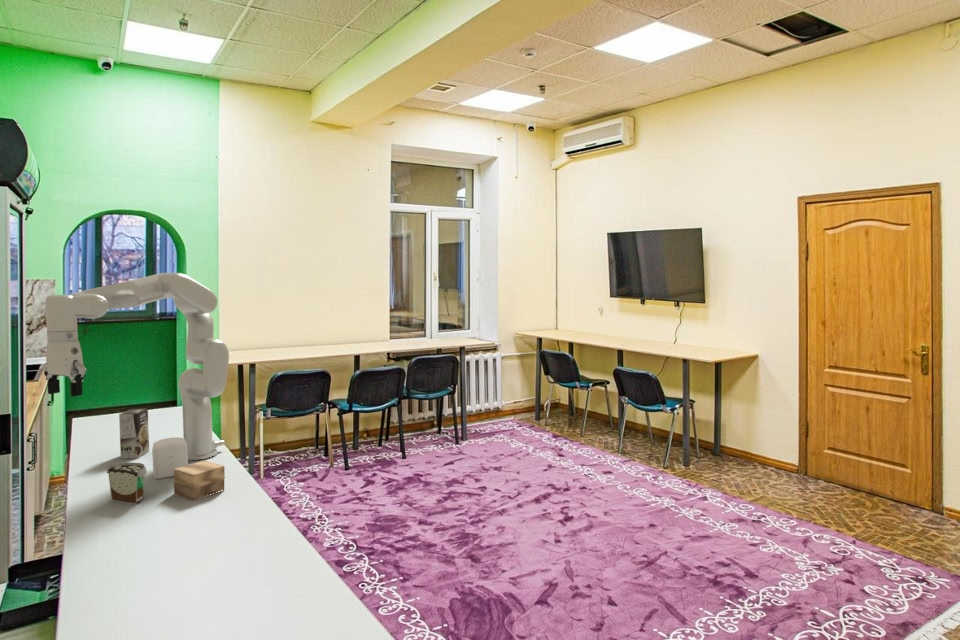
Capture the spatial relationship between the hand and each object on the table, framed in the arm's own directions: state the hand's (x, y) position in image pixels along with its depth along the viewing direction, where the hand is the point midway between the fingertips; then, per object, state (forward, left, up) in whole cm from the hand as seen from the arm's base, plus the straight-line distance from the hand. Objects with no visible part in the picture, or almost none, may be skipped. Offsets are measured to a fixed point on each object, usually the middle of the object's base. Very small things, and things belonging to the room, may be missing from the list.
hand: (65, 394), depth 185 cm
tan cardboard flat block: (-22, +31, -30) cm, 49 cm away
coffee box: (-32, -24, -30) cm, 50 cm away
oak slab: (-22, +31, -26) cm, 47 cm away
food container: (-8, +20, -30) cm, 37 cm away
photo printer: (-26, +9, -30) cm, 41 cm away
